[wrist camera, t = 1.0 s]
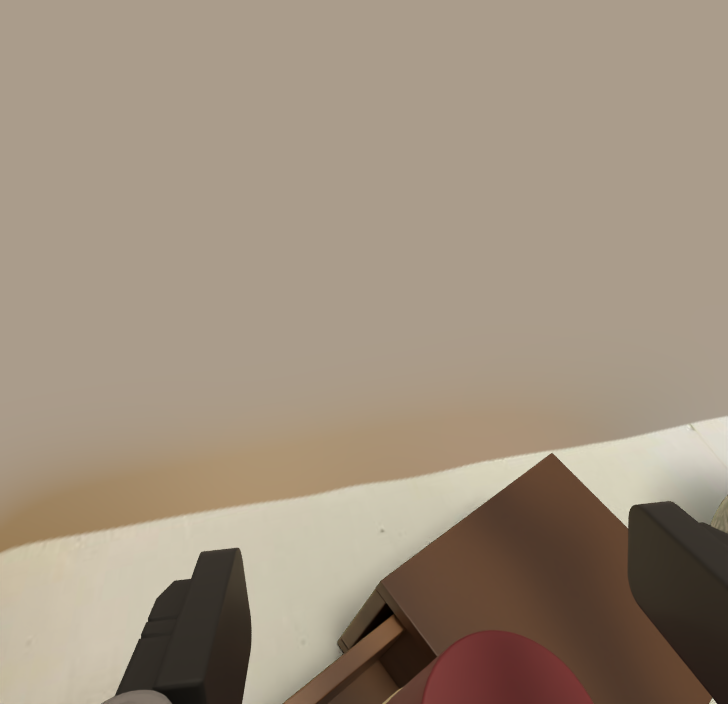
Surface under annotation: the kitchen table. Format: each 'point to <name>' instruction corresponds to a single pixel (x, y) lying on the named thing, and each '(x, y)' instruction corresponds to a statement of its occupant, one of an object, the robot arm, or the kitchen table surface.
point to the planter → (721, 517)
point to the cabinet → (538, 590)
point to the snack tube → (494, 674)
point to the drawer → (367, 669)
